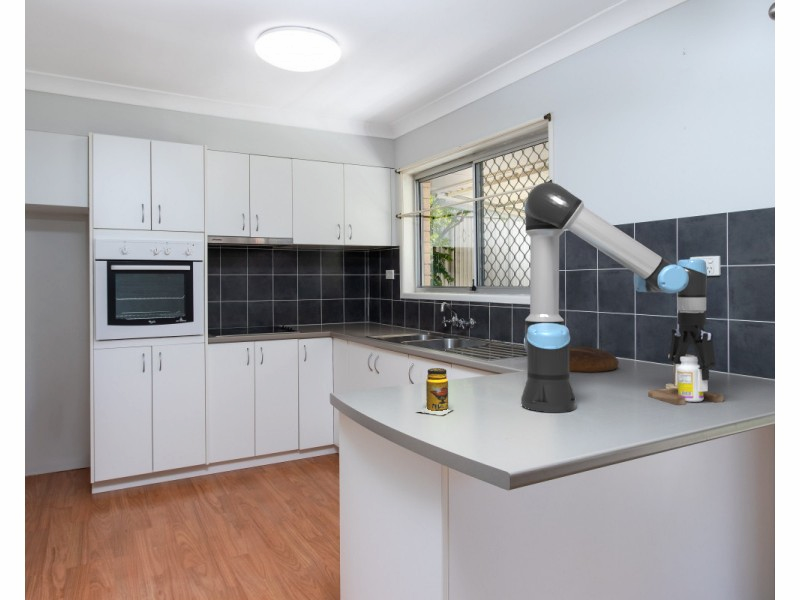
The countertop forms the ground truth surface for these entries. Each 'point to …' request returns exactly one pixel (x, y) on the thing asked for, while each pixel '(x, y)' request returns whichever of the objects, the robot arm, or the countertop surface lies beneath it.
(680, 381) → the supplement bottle
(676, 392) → the notch board
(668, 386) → the bobbin
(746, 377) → the countertop surface
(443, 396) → the condiment
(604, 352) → the bread
